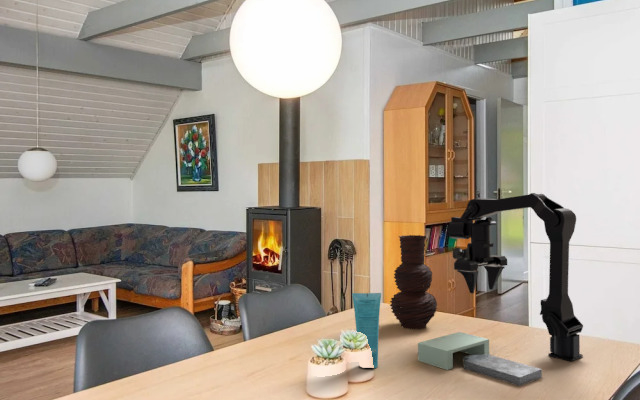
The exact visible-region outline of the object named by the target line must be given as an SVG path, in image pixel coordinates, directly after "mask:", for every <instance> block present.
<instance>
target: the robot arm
mask: <svg viewBox="0 0 640 400" xmlns="http://www.w3.org/2000/svg"><path fill="white" fill-rule="evenodd" d="M529 208H531V209H532V210H533V211H534V213H535V215H536V216H537V217H538V218H539V219H540V220H542V221H543V223H544V230H545V234H546V236H547V237H548V240H549V274H548V275H549V277H548V278H549V279H548V282H549V285H548V286H549V287H548V288H549V289H548V295H547V297H546V298H544V299H541V300H540V312H539V315H540V316H541V319H542V323H544V324H545V326H546V328H547V331H548V335H550V337H549V350H550V353H548V355H547V356H549V357H552V358H557V359H561V360H564V361H567V362H568V361H570V362H572V361H575V360H577V359H580V358H583V357H584V356H583V354H582V353H580V352H581V351H580V350H581V349H580V348H581V347H580V342H581V341H580V334H579V333H582V331H583V328H584V325H583V323H582V322H581V321H580V320H579V319H578V318H577V317H576V315H575V313H574V308H573V307H574V306H573V305H574V304H573V302H572V300H571V298H570V296H569V264H570V263H569V261H570V260H569V258H570V257H569V256H570V241H571V239H572V237H573V234H574V233H575V229H576V224H577V223H576V222H577V216H576V213H575V212H574V211H573V210H571V209H569V208H565V207H564V206H562V204H560V203H558V202H556V201H554V200H552V199H550V198H549V197H548V196H547V195H545V194H544V193H542V192H532V193H529V194H524V195H517V196H511V197H503V198H499V199H498V198H472V199H470V200H469V201H468V202H467V205H466V209H465V210H464V211H463V213H462V215H461V216H460V217H459V216H452V217H450V222H449V223H448V226H447V229H446V230H447V231H446V233H447V235H448V237H449V238H451V239H457V240H459V239H460V240H470V242H469V243H468V242H467V245H466V246H467V247H466V248H463V249H462V248H461V247H455V248H453V249H452V258H453V259H454V260H455V261H454V262H453V270H454V271H455V270H456V272H457V273H460V274H461V275H462V276H463V278H464V281H465V283H466V285H467V288H468V291H469V293H470V294H474V293H475V290H476V284H477V281H478V276H479V270H478V267H483V268H484V269H485V270H486V273H487V281H488V282H487V283H488V289H489V290H494V288H495V285H496V283H497V281H498V279H499V277H500V276H501V274H502V272H503V270H504V269H505V268H506V266H508V259H507V257H506V256H505V255H495V254H492V255H491V248H493V247H494V242H491V226H496V225H497V222H496V221H495V220H494V219H493V218H492V217H491V216H494V215H497V214H498V213H501V212H504V211H505V212H507V211H514V210H522V209H529ZM484 218H485V219H484Z"/></svg>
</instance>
